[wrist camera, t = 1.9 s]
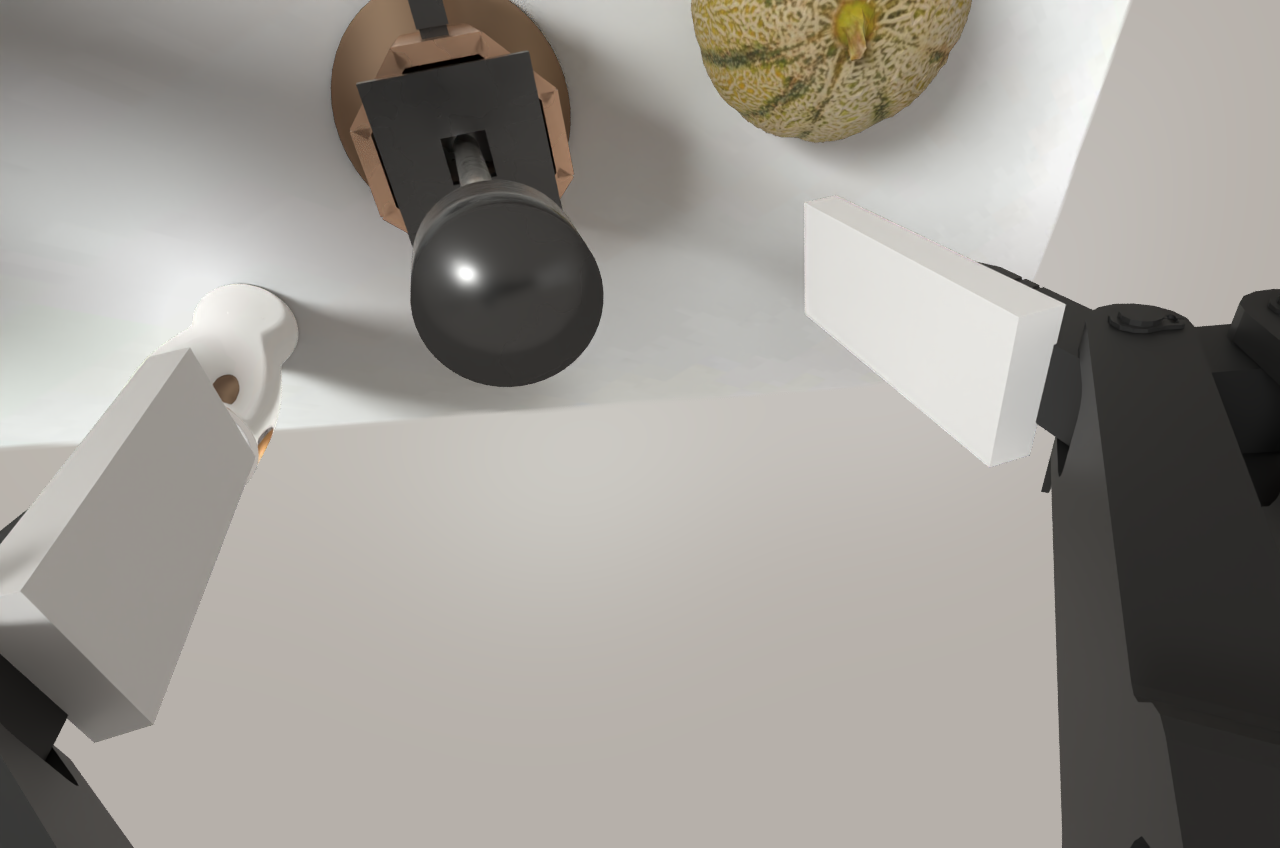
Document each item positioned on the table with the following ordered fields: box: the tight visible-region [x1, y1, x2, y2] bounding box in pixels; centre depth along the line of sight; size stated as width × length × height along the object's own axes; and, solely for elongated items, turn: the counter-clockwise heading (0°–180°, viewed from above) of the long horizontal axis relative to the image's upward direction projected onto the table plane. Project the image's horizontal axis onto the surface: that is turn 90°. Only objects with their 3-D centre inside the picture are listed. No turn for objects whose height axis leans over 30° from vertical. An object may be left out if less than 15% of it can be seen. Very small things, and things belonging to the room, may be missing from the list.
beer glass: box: [120, 284, 298, 485], centre depth 38 cm, size 7×7×15 cm
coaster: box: [331, 0, 570, 187], centre depth 41 cm, size 14×14×1 cm
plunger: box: [411, 130, 603, 387], centre depth 24 cm, size 6×6×21 cm
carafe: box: [350, 0, 574, 246], centre depth 34 cm, size 9×12×13 cm
